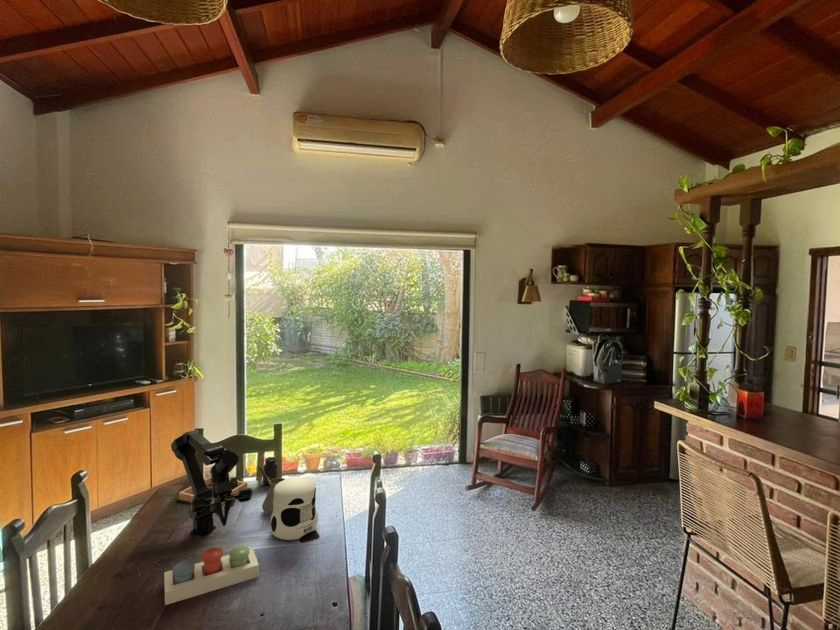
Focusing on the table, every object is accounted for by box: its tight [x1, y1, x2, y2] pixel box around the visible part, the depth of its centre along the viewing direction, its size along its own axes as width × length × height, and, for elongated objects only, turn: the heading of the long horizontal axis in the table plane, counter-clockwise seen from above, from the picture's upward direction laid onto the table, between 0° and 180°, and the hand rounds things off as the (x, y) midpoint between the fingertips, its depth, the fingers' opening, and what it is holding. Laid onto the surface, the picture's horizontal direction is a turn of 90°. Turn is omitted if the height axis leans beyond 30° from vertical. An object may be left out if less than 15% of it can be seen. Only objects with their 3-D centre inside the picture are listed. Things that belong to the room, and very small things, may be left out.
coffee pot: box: [255, 465, 286, 517], centre depth 182 cm, size 21×12×15 cm, turn 49°
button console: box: [163, 548, 260, 606], centre depth 136 cm, size 10×26×4 cm, turn 121°
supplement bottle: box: [262, 456, 279, 487], centre depth 204 cm, size 7×7×12 cm
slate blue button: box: [171, 560, 196, 585], centre depth 132 cm, size 6×6×6 cm
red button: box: [201, 547, 224, 576], centre depth 136 cm, size 6×6×6 cm
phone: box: [298, 529, 320, 544], centre depth 166 cm, size 7×1×15 cm
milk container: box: [270, 477, 319, 542], centre depth 164 cm, size 17×17×18 cm
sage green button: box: [229, 545, 250, 569], centre depth 140 cm, size 6×6×6 cm
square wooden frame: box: [178, 475, 248, 505], centre depth 192 cm, size 20×19×3 cm
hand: (224, 525), depth 144 cm, fingers closed
